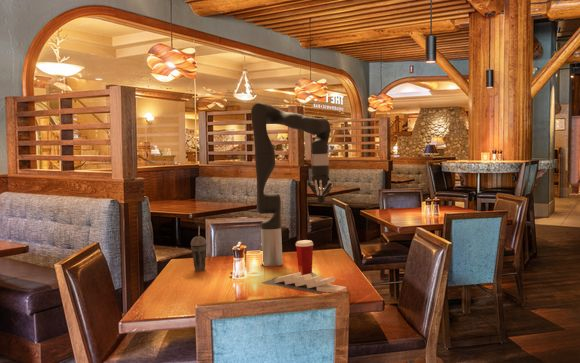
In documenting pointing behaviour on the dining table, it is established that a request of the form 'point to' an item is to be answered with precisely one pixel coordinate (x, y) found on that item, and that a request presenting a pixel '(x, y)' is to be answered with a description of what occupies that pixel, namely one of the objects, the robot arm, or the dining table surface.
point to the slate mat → (292, 286)
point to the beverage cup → (199, 252)
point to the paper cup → (304, 256)
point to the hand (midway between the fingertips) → (321, 203)
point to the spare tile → (309, 281)
